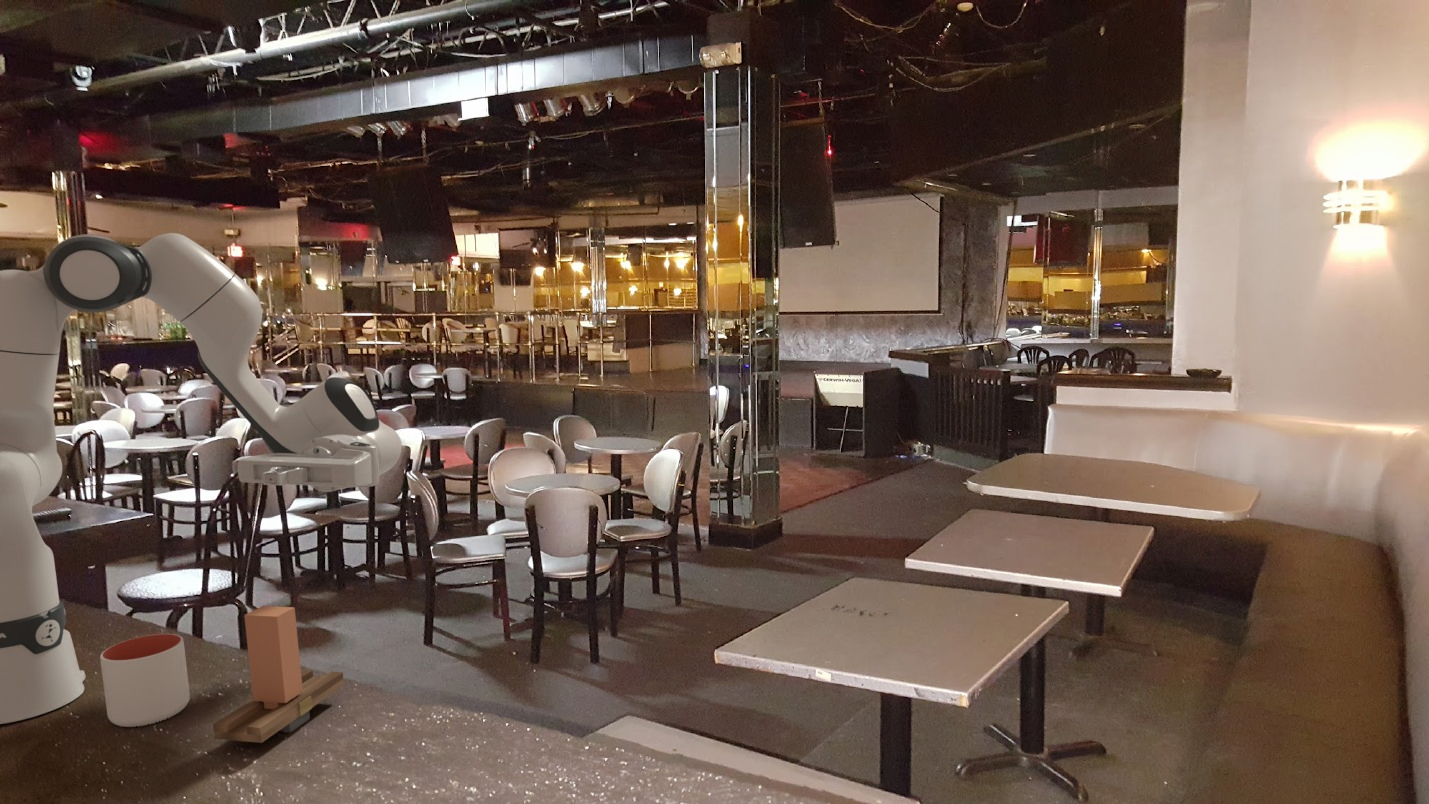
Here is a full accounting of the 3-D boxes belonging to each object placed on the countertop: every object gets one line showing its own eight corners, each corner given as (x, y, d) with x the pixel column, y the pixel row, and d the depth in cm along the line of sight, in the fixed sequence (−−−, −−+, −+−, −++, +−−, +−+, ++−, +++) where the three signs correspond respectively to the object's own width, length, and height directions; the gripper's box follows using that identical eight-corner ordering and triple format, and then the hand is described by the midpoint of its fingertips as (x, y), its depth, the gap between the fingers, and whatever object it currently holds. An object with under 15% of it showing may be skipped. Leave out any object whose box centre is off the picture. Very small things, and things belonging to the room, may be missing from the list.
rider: (254, 708, 122) (244, 615, 121) (272, 697, 126) (262, 605, 124) (286, 711, 121) (276, 616, 120) (303, 699, 125) (294, 607, 123)
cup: (152, 733, 123) (143, 662, 122) (90, 728, 125) (81, 659, 124) (206, 700, 133) (199, 634, 132) (148, 696, 135) (141, 632, 134)
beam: (215, 753, 117) (212, 723, 117) (302, 695, 134) (299, 669, 133) (264, 757, 115) (261, 728, 115) (346, 698, 132) (343, 672, 131)
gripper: (272, 441, 147) (208, 455, 134) (385, 445, 143) (330, 460, 129) (274, 479, 148) (210, 497, 134) (387, 485, 143) (332, 504, 130)
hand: (270, 479), depth 132 cm, fingers closed
